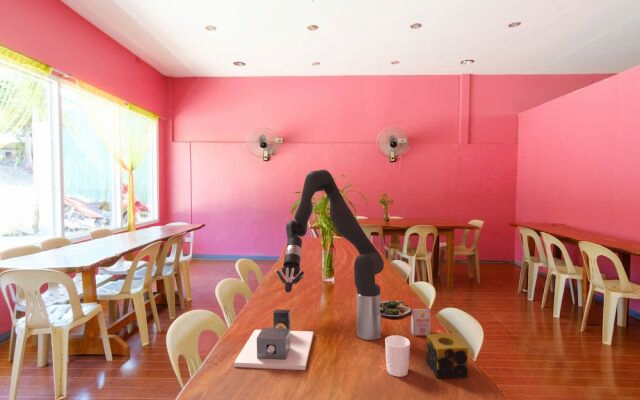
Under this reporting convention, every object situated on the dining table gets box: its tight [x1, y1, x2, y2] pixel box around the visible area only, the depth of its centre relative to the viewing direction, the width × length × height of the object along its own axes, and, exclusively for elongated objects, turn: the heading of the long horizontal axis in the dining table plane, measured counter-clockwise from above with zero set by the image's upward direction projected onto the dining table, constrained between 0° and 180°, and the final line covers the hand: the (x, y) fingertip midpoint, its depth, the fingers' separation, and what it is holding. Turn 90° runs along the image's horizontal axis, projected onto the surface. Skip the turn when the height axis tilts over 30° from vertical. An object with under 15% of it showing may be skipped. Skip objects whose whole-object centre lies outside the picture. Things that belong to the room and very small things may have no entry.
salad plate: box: [380, 300, 412, 320], centre depth 156 cm, size 19×18×5 cm
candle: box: [425, 332, 469, 380], centre depth 106 cm, size 10×10×10 cm
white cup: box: [384, 334, 411, 378], centre depth 106 cm, size 8×8×10 cm
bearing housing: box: [257, 327, 291, 360], centre depth 115 cm, size 10×8×7 cm
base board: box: [233, 329, 314, 371], centre depth 120 cm, size 24×24×2 cm
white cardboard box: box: [410, 308, 432, 337], centre depth 131 cm, size 4×7×10 cm, turn 90°
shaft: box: [267, 309, 291, 354], centre depth 120 cm, size 6×20×9 cm, turn 175°
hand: (288, 291), depth 140 cm, fingers closed
